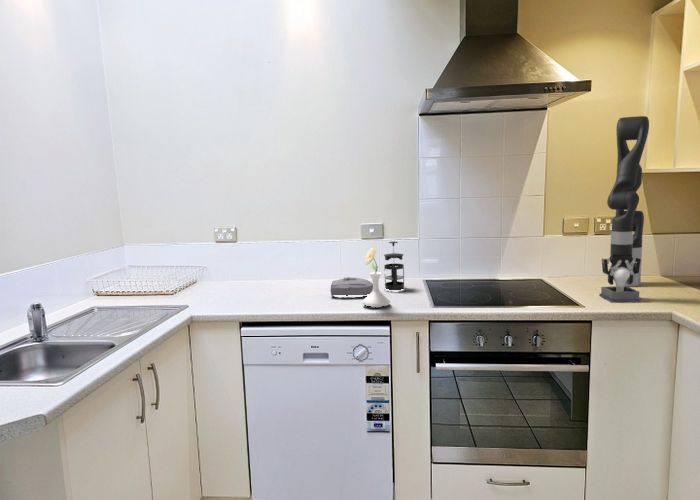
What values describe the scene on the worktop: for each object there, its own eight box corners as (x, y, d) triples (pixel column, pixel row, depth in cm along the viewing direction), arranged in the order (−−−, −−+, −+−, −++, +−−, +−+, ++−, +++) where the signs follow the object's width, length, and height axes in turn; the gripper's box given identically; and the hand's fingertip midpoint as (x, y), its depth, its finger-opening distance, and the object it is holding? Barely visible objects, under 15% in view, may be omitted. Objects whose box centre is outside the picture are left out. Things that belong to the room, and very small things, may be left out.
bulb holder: (599, 295, 194) (599, 286, 194) (627, 295, 193) (627, 286, 192) (611, 302, 183) (611, 292, 183) (641, 302, 182) (641, 292, 182)
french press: (406, 292, 215) (404, 242, 212) (385, 293, 215) (383, 243, 212) (403, 287, 227) (402, 239, 224) (383, 287, 227) (382, 240, 224)
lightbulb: (631, 295, 184) (632, 267, 183) (613, 295, 186) (614, 267, 184) (625, 291, 190) (626, 264, 189) (608, 291, 192) (609, 264, 190)
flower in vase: (363, 302, 199) (361, 244, 196) (390, 302, 198) (388, 243, 195) (361, 311, 187) (358, 248, 183) (389, 310, 185) (387, 247, 182)
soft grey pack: (328, 300, 208) (374, 299, 206) (328, 281, 207) (373, 280, 205) (333, 292, 223) (375, 291, 221) (332, 275, 221) (375, 274, 219)
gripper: (636, 240, 188) (634, 281, 190) (598, 241, 190) (597, 282, 192) (645, 243, 181) (644, 285, 183) (606, 244, 182) (605, 286, 185)
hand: (620, 284), depth 187 cm, fingers closed on lightbulb, 6 cm apart
